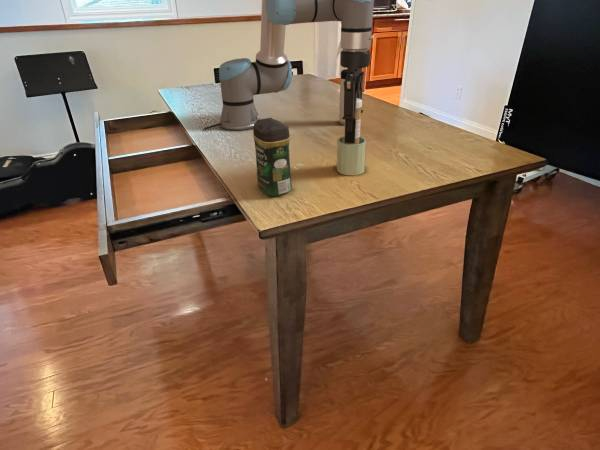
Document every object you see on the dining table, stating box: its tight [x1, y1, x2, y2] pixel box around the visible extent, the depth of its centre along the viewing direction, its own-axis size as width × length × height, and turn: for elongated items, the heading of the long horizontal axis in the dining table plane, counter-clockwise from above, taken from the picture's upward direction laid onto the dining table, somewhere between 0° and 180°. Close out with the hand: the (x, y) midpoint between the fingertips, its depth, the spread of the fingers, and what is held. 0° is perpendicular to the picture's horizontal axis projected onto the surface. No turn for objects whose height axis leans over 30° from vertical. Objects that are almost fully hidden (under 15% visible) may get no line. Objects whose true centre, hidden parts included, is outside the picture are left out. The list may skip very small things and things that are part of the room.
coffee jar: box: [252, 117, 293, 197], centre depth 105 cm, size 10×8×19 cm
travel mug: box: [338, 68, 348, 126], centre depth 154 cm, size 6×7×20 cm
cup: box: [336, 135, 367, 176], centre depth 118 cm, size 8×8×9 cm
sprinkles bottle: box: [343, 98, 363, 145], centre depth 113 cm, size 5×5×13 cm
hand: (351, 139), depth 115 cm, fingers closed on sprinkles bottle, 4 cm apart
